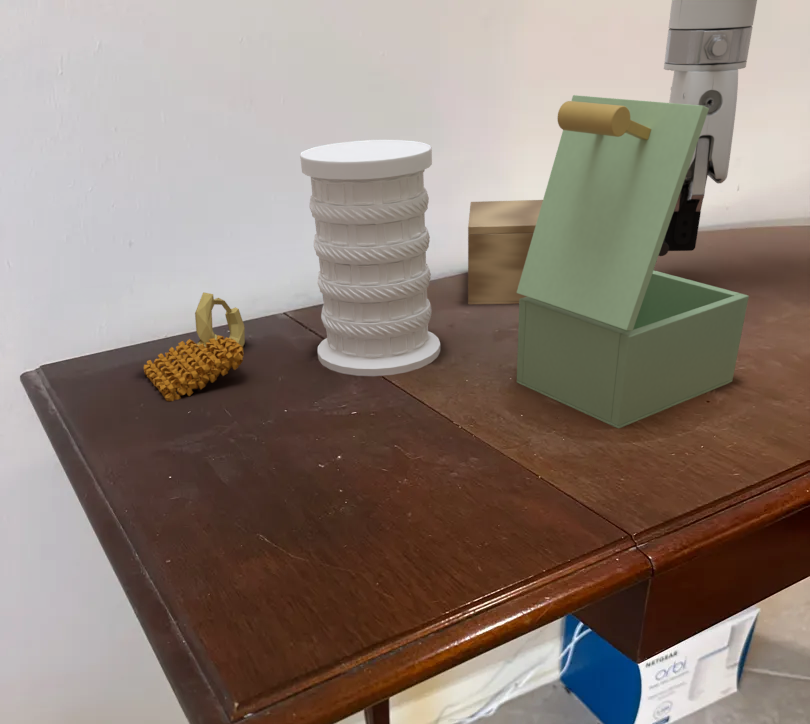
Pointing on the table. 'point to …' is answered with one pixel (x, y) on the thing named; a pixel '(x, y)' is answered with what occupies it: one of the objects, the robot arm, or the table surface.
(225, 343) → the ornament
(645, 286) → the lid
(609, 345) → the chest
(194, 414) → the table surface
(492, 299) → the cabinet
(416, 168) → the decorative container
